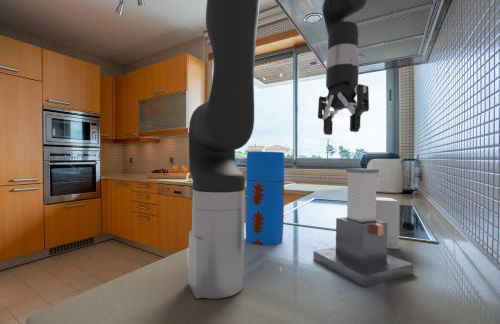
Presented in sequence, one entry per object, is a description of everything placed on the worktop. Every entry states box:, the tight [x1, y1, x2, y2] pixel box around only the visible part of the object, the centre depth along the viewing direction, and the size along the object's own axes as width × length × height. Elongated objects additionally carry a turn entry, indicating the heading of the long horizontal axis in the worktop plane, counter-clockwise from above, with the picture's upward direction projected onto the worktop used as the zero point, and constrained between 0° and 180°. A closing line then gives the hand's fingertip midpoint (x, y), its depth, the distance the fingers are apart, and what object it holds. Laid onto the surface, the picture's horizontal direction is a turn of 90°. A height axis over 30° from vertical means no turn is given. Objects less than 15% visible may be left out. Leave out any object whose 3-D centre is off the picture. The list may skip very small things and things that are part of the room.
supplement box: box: [376, 196, 401, 250], centre depth 72 cm, size 7×7×13 cm
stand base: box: [312, 216, 414, 288], centre depth 56 cm, size 14×14×10 cm
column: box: [345, 168, 380, 224], centre depth 56 cm, size 5×5×19 cm
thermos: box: [245, 151, 285, 246], centre depth 74 cm, size 11×11×25 cm
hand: (340, 133), depth 64 cm, fingers open, 8 cm apart
